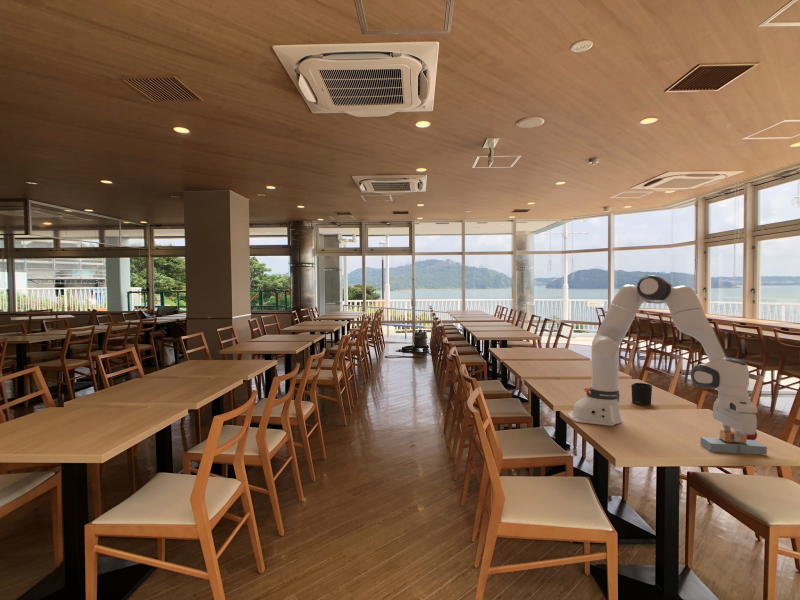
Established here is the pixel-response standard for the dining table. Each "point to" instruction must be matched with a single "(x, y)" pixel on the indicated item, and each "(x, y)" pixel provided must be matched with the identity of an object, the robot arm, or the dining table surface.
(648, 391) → the pen holder
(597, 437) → the dining table surface
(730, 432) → the clip
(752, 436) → the onion
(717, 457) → the dining table surface
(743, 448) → the grey flat block
